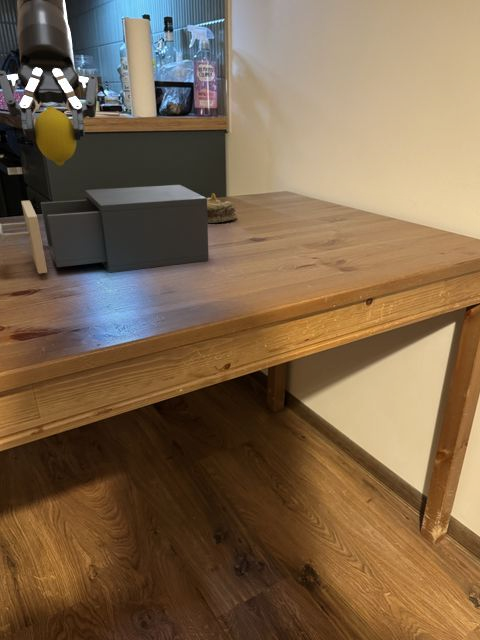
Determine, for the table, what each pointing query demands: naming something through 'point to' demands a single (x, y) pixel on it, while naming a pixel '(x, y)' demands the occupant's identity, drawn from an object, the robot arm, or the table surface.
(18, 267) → the table surface
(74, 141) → the lemon
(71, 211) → the drawer
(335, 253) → the table surface
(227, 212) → the cake
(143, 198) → the cabinet
